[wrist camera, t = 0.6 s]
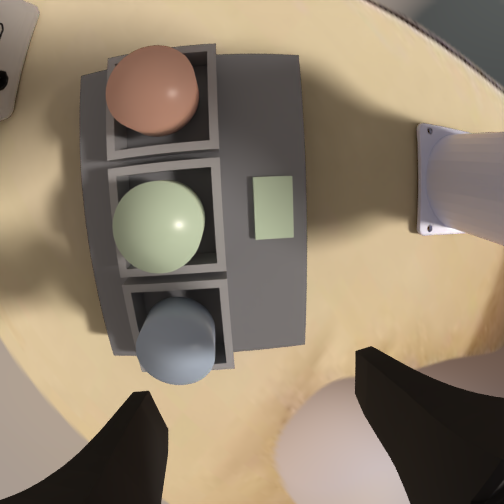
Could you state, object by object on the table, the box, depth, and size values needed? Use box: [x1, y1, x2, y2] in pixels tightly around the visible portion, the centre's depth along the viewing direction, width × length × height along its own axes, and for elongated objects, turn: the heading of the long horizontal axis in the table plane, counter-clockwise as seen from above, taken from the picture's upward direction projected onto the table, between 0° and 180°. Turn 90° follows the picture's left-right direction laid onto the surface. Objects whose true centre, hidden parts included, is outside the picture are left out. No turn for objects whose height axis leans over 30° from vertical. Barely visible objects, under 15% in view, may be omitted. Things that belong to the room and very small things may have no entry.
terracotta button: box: [106, 45, 199, 137], centre depth 11 cm, size 4×4×2 cm
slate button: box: [136, 297, 215, 385], centre depth 14 cm, size 4×4×2 cm
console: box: [80, 44, 307, 372], centre depth 16 cm, size 12×17×4 cm
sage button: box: [112, 180, 205, 273], centre depth 12 cm, size 4×4×2 cm
